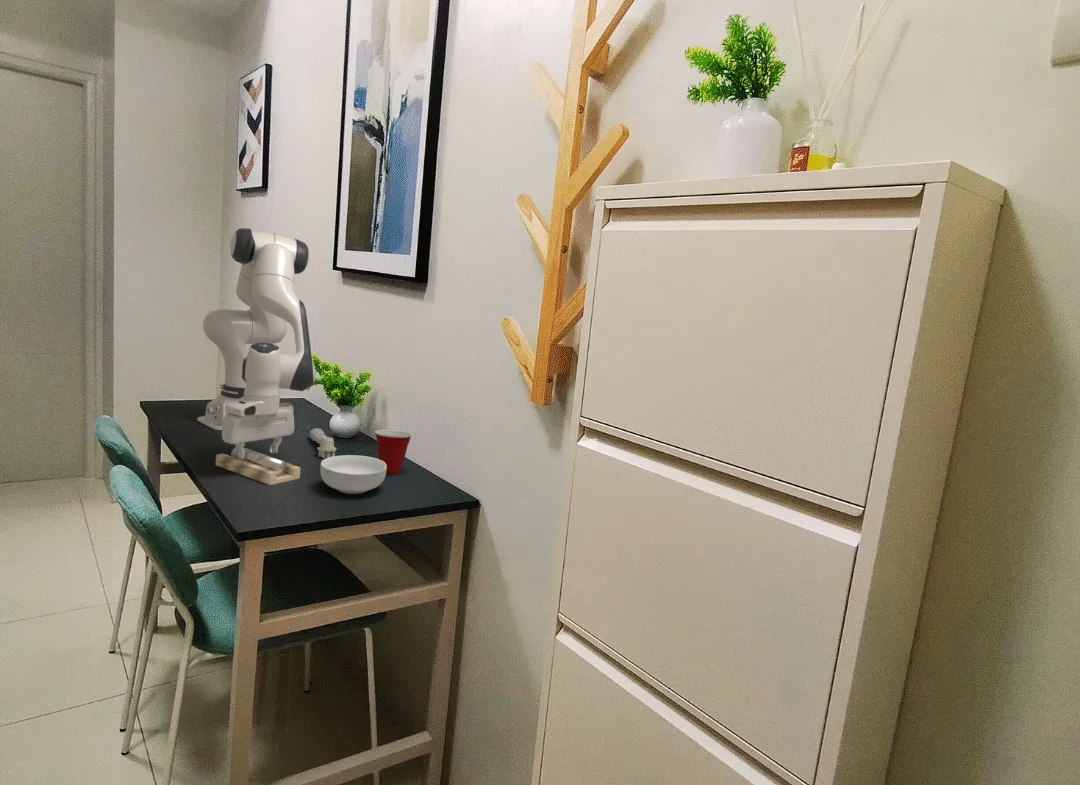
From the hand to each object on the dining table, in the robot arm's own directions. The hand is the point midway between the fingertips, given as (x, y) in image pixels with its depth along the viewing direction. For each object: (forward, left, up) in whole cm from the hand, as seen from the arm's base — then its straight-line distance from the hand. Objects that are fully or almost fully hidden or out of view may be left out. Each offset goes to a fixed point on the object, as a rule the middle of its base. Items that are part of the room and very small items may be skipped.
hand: (258, 455), depth 178 cm
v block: (0, 0, -5) cm, 5 cm away
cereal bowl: (+26, +9, -5) cm, 28 cm away
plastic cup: (+21, +29, -5) cm, 36 cm away
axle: (0, 0, -4) cm, 4 cm away
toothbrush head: (-9, +30, -5) cm, 32 cm away
